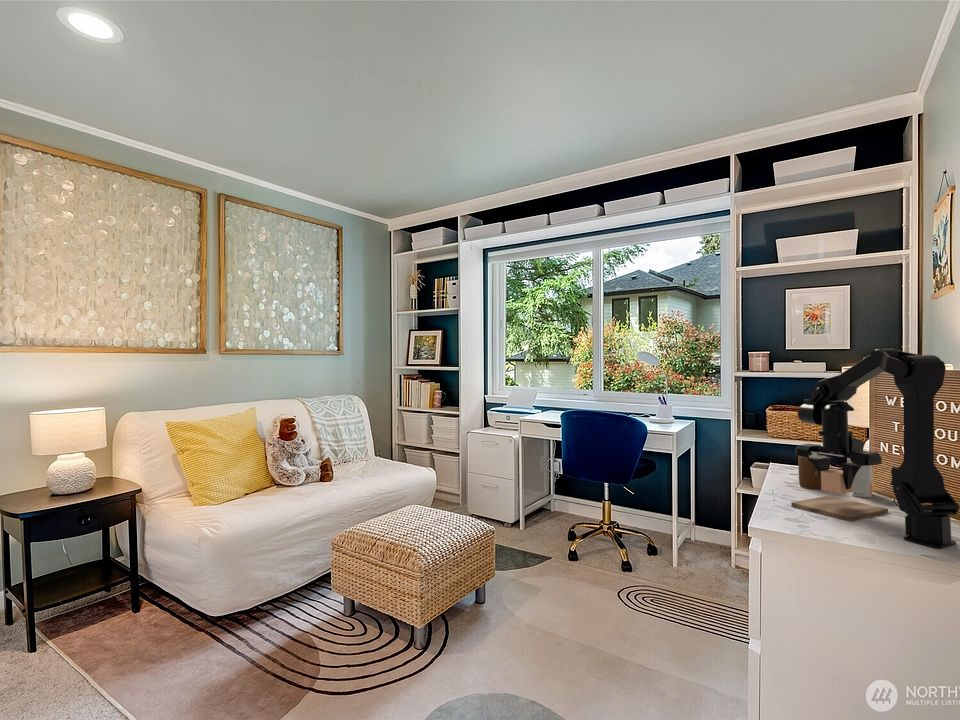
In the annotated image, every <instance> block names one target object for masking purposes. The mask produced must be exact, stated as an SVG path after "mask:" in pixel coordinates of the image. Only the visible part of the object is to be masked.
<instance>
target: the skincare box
mask: <svg viewBox="0 0 960 720" xmlns="http://www.w3.org/2000/svg"><path fill="white" fill-rule="evenodd" d="M872 471H873V470H872V465H870V466H862V467H861V468H860V469H859V470H858V472H857V474H856V476H855V478H854V481H853V487H854V492H851V493H852V497H858V498H859V497H860V498H868V497H870V498H871V497H872V495H873V472H872Z"/></svg>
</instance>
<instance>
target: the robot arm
mask: <svg viewBox="0 0 960 720" xmlns="http://www.w3.org/2000/svg"><path fill="white" fill-rule="evenodd" d="M883 372H884V373H887V374H890V375H893V379H894V385H895V386H896V388H897V389H898V390H899V392H900V393H901V395H902V396H903V461H902V463H901V464H900V466H892V467H891V471H890V474H891V481H890V486H892V491H893V493H894V496H895V498H896V501H897V504H898V508H899V510H900V511H901V512H904V513H905V514H906V515H905V516H904V522H905V523H904V525H905V527H904V528H905V536H903V540H905V541H910V542H912V543H913V542H914V543H917V544H919V545H920V544H921V545H924V546H928V547H932V548H935V549H942V548H946V547H949V546H953V545H957V540H953V539H952V527H951V526H952V525H951V524H952V523H951V515H953V516H954V515H955V516H956V515H958V513H959V509H960V505H959V503H958V502H957V501H956V500H955V499H954V497H953V496H952V495H951V494H950V493H949V491H947V489H946V488H945V482H944V476H943V475H942V473H941V472H940V471H939V469H938V468H937V466H936V465H935V461H934V460H935V446H934V444H935V439H934V438H935V424H934V423H935V419H934V418H935V407H934V406H935V402H934V401H935V397H936V395H937V394H938V392H939V391H940V389H941V388H942V387H943V385H944V381H945V376H946V363H945V361H943V360H942V359H941V358H940V357H939V356H936V355H934V354H917V353H912V352H907V351H902V350H900V349H896V348H877V349H874V350H872V351H871V352H870V354H869V355H867V356H865V357H864V358H863V359H861V360H860V361H858V362H857V363H855V364H854V365H852V366H851V367H849V368H848V369H846V370H845V371H843V372H841V373H840V374H837V375H833V376H832V375H831V376H829V377H825V378H824V379H821V380H820V379H819V381H818V382H817V383H816V384H815V388H814V389H813V391H812V393H811V395H810V397H809V398H808V399H804V400H803V404H802V405H800V406H799V408H798V411H797V417H798V419H799V420H800V421H801V422H802V423H804V424H808V425H810V424H811V425H815V426H821V430H819V431H818V435H819V436H821V438H822V439H821V440H822V445H821V444H814V443H813V444H812V443H803V444H797V446H796V448H795V455H796V456H805V457H806V456H808V455H809V458H807V460H810V461H811V462H812V464H813V465H814V467H815V468H816V470H817V471H818V473H819V475H820V476H821V471H825V470H830V462H831V460H832V458H837V459H845V460H846V462H842V463H841V468H842V470H841V471H843V476H844V483H845V487H846V489H850V488H851V486H852V483H853V481H854V478H855V476H856V474H857V472H858V470H859V469H860V468H861V467H862V466H870V465H871V466H875V465H876V466H877V465H881V464H883V463H882V462H883V461H882V455H880V454H879V452H877V451H870V450H869V451H868V450H864V448H865V444H866V443H865V441H863V440H861V439H859V438H855V437H854V436H853V435H854V434H853V431H852V430H849V417H848V415H849V412H853V411H855V408H854V407H853V406H851V405H850V404H849V403H848V401H849V400H850V399H851V398H853V397H854V395H856V393H857V390H858V388H859V387H860V386H862V385H864V384H866V383H867V382H868V381H870V380H872V379H874V378H875V377H877V376H878V375H880V374H883ZM925 504H926V505H925Z"/></svg>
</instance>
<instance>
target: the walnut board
mask: <svg viewBox="0 0 960 720" xmlns="http://www.w3.org/2000/svg"><path fill="white" fill-rule="evenodd" d="M790 504H791V507H792V506H793V508H797V509H800V508H801V509H800V510H805V511H808V512H812V511H813V513H816V512H817V513H816V514H822V515H824V516H828V515H829V517H832V516H833V518H836V517H837V518H836V519H839V520H844V521H848V522H852V521H857V520H861V519H866V518H869V517H874V516H879V515H883V514H887V513H889V508H887V507H882V506H878V505H874V504H873V505H872V504H869V503H863V502H860V501H856V500H854V501H853V500H849V499H845V498H840V497H836V496H832V495H824V496H819V497H815V498H809V499H803V500H799V501H792V502H791V503H790Z"/></svg>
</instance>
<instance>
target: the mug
mask: <svg viewBox="0 0 960 720" xmlns="http://www.w3.org/2000/svg"><path fill="white" fill-rule="evenodd" d="M797 456H798V459H797V460H798V462H797V465H798V466H797V467H798V468H797V469H798V483H799V486H800V487H801V488H804V489H808V490H818V491H819V490H821V491H822V489H821V476H820V475H819V473H818V471H817V470H816V468H815V467H814V465H813V464H812V462H811V461H810V460H807V458H809V455H808V456H806V457H805V456H799V455H797Z"/></svg>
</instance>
